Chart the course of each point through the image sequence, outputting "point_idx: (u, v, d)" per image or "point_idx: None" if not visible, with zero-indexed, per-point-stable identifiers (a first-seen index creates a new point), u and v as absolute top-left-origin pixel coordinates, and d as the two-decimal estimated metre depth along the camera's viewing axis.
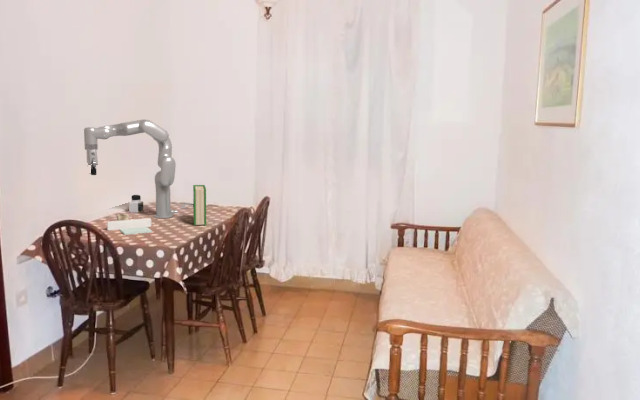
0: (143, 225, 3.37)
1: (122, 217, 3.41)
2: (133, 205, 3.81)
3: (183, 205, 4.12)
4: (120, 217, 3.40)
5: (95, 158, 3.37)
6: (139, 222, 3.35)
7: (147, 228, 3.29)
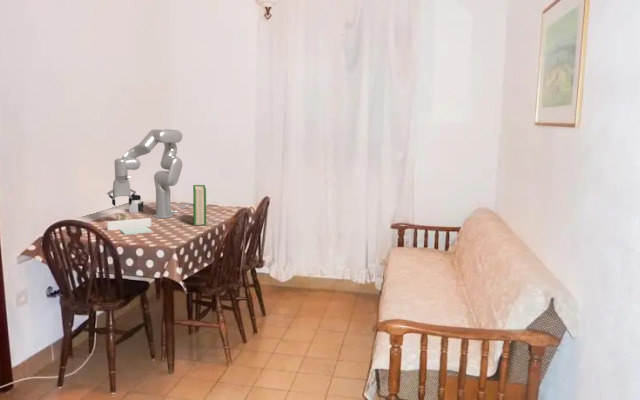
0: (143, 225, 3.37)
1: (122, 217, 3.41)
2: (133, 205, 3.81)
3: (183, 205, 4.12)
4: (120, 217, 3.40)
5: None
6: (139, 222, 3.35)
7: (147, 228, 3.29)
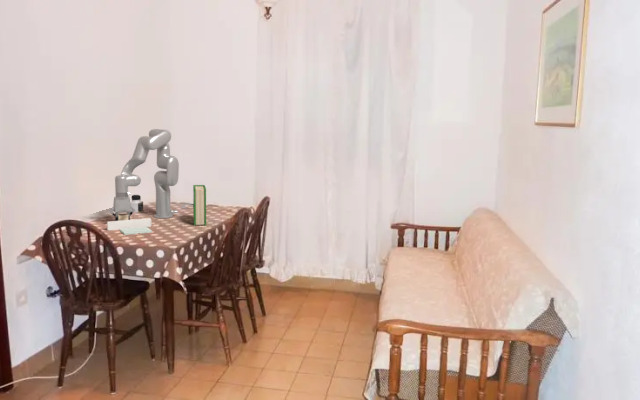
0: (143, 225, 3.37)
1: (122, 217, 3.41)
2: (133, 205, 3.81)
3: (184, 205, 4.13)
4: (120, 217, 3.40)
5: None
6: (139, 222, 3.35)
7: (147, 228, 3.29)
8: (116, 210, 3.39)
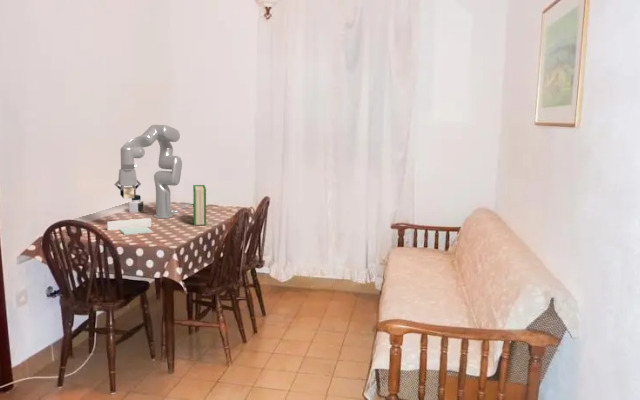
0: (143, 225, 3.37)
1: (127, 190, 3.27)
2: (133, 205, 3.81)
3: (184, 205, 4.13)
4: (125, 190, 3.27)
5: None
6: (139, 222, 3.35)
7: (147, 228, 3.29)
8: (121, 183, 3.26)
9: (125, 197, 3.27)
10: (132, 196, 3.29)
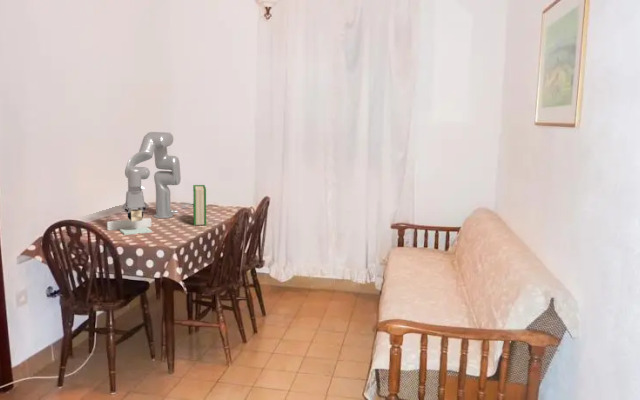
0: (143, 225, 3.37)
1: (135, 212, 3.20)
2: None
3: (184, 205, 4.13)
4: (133, 212, 3.19)
5: None
6: (139, 222, 3.35)
7: (147, 228, 3.29)
8: (129, 205, 3.18)
9: (133, 220, 3.20)
10: (140, 218, 3.22)
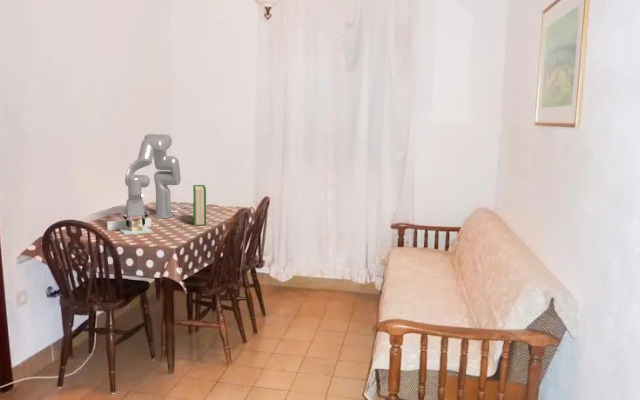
0: None
1: (135, 222, 3.21)
2: None
3: (184, 205, 4.13)
4: (133, 222, 3.20)
5: None
6: None
7: (147, 228, 3.29)
8: (129, 213, 3.19)
9: (133, 230, 3.21)
10: (140, 228, 3.23)
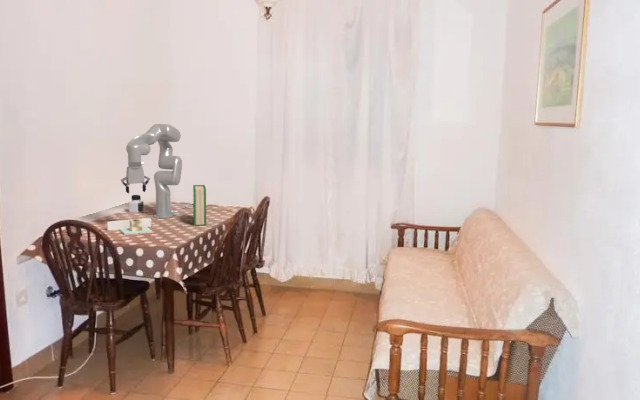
0: (143, 225, 3.37)
1: (135, 222, 3.21)
2: (133, 205, 3.81)
3: None
4: (133, 222, 3.20)
5: None
6: None
7: (147, 228, 3.29)
8: (129, 180, 3.26)
9: (133, 230, 3.21)
10: (140, 228, 3.23)
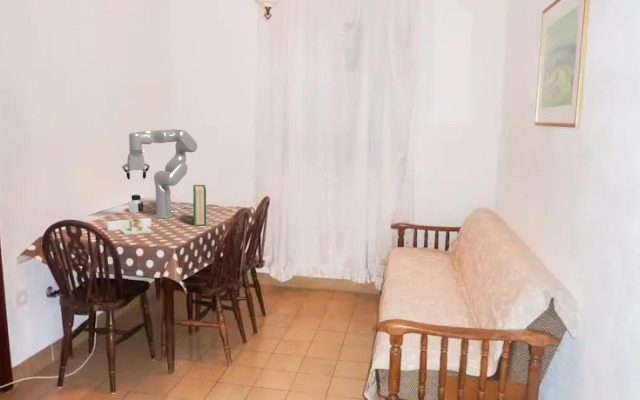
0: (143, 225, 3.37)
1: (135, 222, 3.21)
2: (133, 205, 3.81)
3: None
4: (133, 222, 3.20)
5: None
6: None
7: (147, 228, 3.29)
8: (130, 167, 3.42)
9: (133, 230, 3.21)
10: (140, 228, 3.23)
